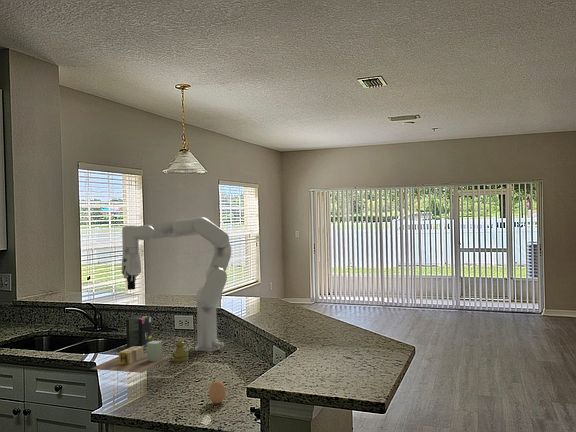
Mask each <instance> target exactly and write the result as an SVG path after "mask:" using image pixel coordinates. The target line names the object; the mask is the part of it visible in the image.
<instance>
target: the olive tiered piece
mask: <svg viewBox="0 0 576 432" xmlns="http://www.w3.org/2000/svg"><path fill="white" fill-rule="evenodd" d="M185 345H186V342H185V341H183V340H177V341H176V342H175V343H174V346H176V350H174V351H173V352H172V353H171V356H172V358H171V361H172V362H173V363H185V362H187V361H189V359H190V358H189V352H188V351H187V350H186V349H184V347H185Z"/></svg>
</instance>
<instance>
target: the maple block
mask: <svg viewBox="0 0 576 432" xmlns="http://www.w3.org/2000/svg"><path fill="white" fill-rule="evenodd" d="M144 354H145V353H144V347H141V346H133V347H127V348H126V349H124V350H121V351H119V352H118V357H119V364H130V363H132V362H135V361H137V360H139V359H141V358H143V357H144Z"/></svg>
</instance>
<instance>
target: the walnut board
mask: <svg viewBox="0 0 576 432" xmlns="http://www.w3.org/2000/svg"><path fill="white" fill-rule="evenodd" d="M143 354H144V357H143V358H141V359H139V360H137V361H135V362H132V363H130V364H119V356H116V357H114V358H112V359H110V360H108V361H105V362H103V363H100V364H98V365H96V366H92V367H91V368H89V370H99V371H114V372H126V373H139V374H143V373H144V372H147V371H149V370H150V369H152V368H155V367H157V366H158V365H160V364H162V363H165V362H166V361H168V360H170V359H172V358H173V357H172V355H165V354H162V359H161V360H159V361H147V353H143Z"/></svg>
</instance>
